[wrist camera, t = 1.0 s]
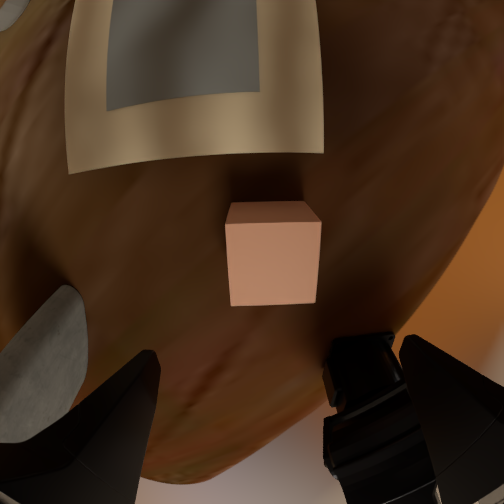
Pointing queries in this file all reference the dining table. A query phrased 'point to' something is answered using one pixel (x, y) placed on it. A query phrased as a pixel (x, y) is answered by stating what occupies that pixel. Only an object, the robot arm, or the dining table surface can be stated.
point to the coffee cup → (11, 12)
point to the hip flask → (43, 367)
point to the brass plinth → (191, 80)
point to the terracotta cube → (272, 252)
